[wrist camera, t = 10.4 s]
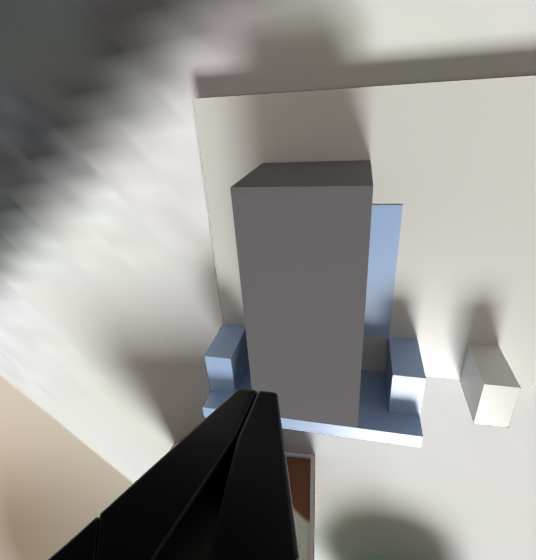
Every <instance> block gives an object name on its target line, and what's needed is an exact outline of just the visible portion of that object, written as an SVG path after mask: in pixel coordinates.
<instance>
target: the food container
mask: <svg viewBox="0 0 536 560" xmlns="http://www.w3.org/2000/svg"><path fill="white" fill-rule="evenodd" d="M178 443H179V442H175V443H174V445H173V446H172V448H173V447H174V446H176V445H177V444H178ZM172 448H171V449H172ZM171 449H170V450H171ZM285 453H286V460H287V468H288V475H289V482H290V490H291V497H292V504H293V512H294V519H295V526H296V534H297V541H298V548H299V556H300V560H314V517H315V454H306V453H295V452H285Z"/></svg>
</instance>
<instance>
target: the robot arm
mask: <svg viewBox="0 0 536 560" xmlns="http://www.w3.org/2000/svg"><path fill="white" fill-rule="evenodd" d="M48 560H300V556H299V548H298V541H297V534H296V526H295V519H294V512H293V504H292V497H291V490H290V482H289V475H288V468H287V460H286V453H285V446H284V438H283V431H282V424H281V416H280V409H279V402H278V395H277V393H275V392H267V391H259V392H257V391H256V390H250V389H238V390H236V391H235V392H234V393H233V394H232V395H231V396H230V397H229V398H228V399H226V400H225V401H224V402H223V403H222V404H221V405H220V406H219V407H218V408H217V409H215V410H214V411H213V412H212V413H211V414H210V415H209V416H208V417H207V418H205V419H204V420H203V421H202V422H201V423H200V424H199V425H198V426H197V427H195V428H194V429H193V430H192V431H191V432H190V433H189V434H188V435H187V436H186V437H184V438H183V439H182V440H181V441H180V442H179V443H178V444H177V445H176V446H174V447H173V448H172V449H171V450H170V451H169V452H168V453H167V454H166V455H165V456H163V457H162V458H161V459H160V460H159V461H158V462H157V463H156V464H155V465H153V466H152V467H151V468H150V469H149V470H148V471H147V472H146V473H145V474H144V475H142V476H141V477H140V478H139V479H138V480H137V481H136V482H135V483H134V484H132V486H130V487H129V488H128V489H127V490H126V491H125V492H124V493H123V494H121V495H120V496H119V497H118V498H117V499H116V500H115V501H114V502H113V503H111V504H110V505H109V506H108V507H107V508H106V509H105V510H104V511H103V512H102V513H101V514H100V518H99V517H96V518H95V519H94V520H92V521H91V523H89V524H88V525H87V526H86V527H85V528H84V529H83V530H81V532H79V533H78V534H77V535H76V536H75V537H74V538H72V539H71V540H70V541H69V542H68V543H67V544H66V545H64V546H63V547H62V548H61V549H60V550H59V551H57V552H56V553H55V554H54V555H53V556H52V557H51V558H49V559H48Z"/></svg>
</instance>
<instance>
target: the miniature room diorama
mask: <svg viewBox="0 0 536 560" xmlns="http://www.w3.org/2000/svg"><path fill="white" fill-rule="evenodd" d="M192 100H193V108H194V115H195V122H196V129H197V137H198V144H199V151H200V159H201V166H202V173H203V180H204V188H205V195H206V202H207V210H208V217H209V224H210V231H211V239H212V246H213V253H214V261H215V268H216V275H217V282H218V290H219V297H220V304H221V312H222V319H223V326H222V327H221V329H220V331H219V332H218V334H217V336H216V337H215V339H214V341H213V343H212V344H211V346H210V348H209V349H208V351H207V353H206V354H205V362H206V368H207V374H208V380H209V385H210V393H209V395H208V397H207V399H206V401H205V403H204V405H203V407H202V409H203V414H204V417H206V418H207V417H208V416H209V415H210V414H211V413H212V412H213V411H214V410H215V409H217V408H218V407H219V406H220V405H221V404H222V403H223V402H224V401H225V400H226V399H228V398H229V397H230V396H231V395H232V394H233V393H234V392H235V391H236V390H238V389H250V390H252V385H251V376H250V367H249V358H248V348H247V339H246V330H245V320H244V311H243V302H242V293H241V283H240V274H239V265H238V255H237V246H236V237H235V227H234V218H233V209H232V200H231V190H230V187H231V186H233V185H234V184H235V183H237V182H238V181H239V180H241V179H242V178H243V177H245V176H246V175H247V174H249V173H250V172H251V171H253V170H254V169H255V168H257V167H258V166H259V165H261V164H262V163H279V162H318V161H356V160H371V168H372V178H373V198H372V213H371V229H370V244H369V259H368V275H367V290H366V305H365V321H364V336H363V351H362V367H361V382H360V397H359V413H358V427H351V426H343V425H336V424H328V423H321V422H313V421H306V420H298V419H291V418H283V417H281V424H282V428H284V429H291V430H298V431H306V432H313V433H320V434H327V435H334V436H341V437H348V438H355V439H363V440H370V441H377V442H384V443H391V444H398V445H405V446H412V447H420V448H421V445H422V439H423V434H422V429H421V423H420V417H419V416H420V410H421V405H422V399H423V393H424V387H425V381H426V376H428V377H438V378H448V379H458V380H460V383H461V386H462V389H463V392H464V395H465V398H466V401H467V404H468V407H469V410H470V413H471V416H472V419H473V422H474V423H476V424H484V425H492V426H500V427H508V426H509V423H510V420H511V417H512V414H513V411H514V408H515V405H516V402H517V399H518V396H519V392H520V389H521V387H520V386H529V387H536V75H535V76H520V77H505V78H491V79H476V80H461V81H446V82H432V83H417V84H402V85H388V86H373V87H358V88H343V89H329V90H314V91H299V92H285V93H270V94H255V95H240V96H226V97H211V98H196V99H192Z"/></svg>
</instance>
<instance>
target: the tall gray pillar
mask: <svg viewBox="0 0 536 560" xmlns="http://www.w3.org/2000/svg"><path fill="white" fill-rule="evenodd" d="M230 190H231V200H232V209H233V218H234V227H235V237H236V246H237V255H238V265H239V274H240V283H241V293H242V302H243V311H244V320H245V330H246V339H247V348H248V358H249V367H250V376H251V385H252V390H256V391H257V392H259V391H267V392H275V393H277V395H278V402H279V409H280V416H281V417H283V418H291V419H298V420H306V421H313V422H321V423H328V424H336V425H343V426H351V427H358V413H359V397H360V382H361V367H362V351H363V336H364V321H365V305H366V290H367V275H368V259H369V244H370V229H371V213H372V198H373V178H372V168H371V160H356V161H318V162H279V163H262V164H261V165H259V166H258V167H257V168H255V169H254V170H253V171H251V172H250V173H249V174H247V175H246V176H245V177H243V178H242V179H241V180H239V181H238V182H237V183H235V184H234V185H233V186H231V187H230Z"/></svg>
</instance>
